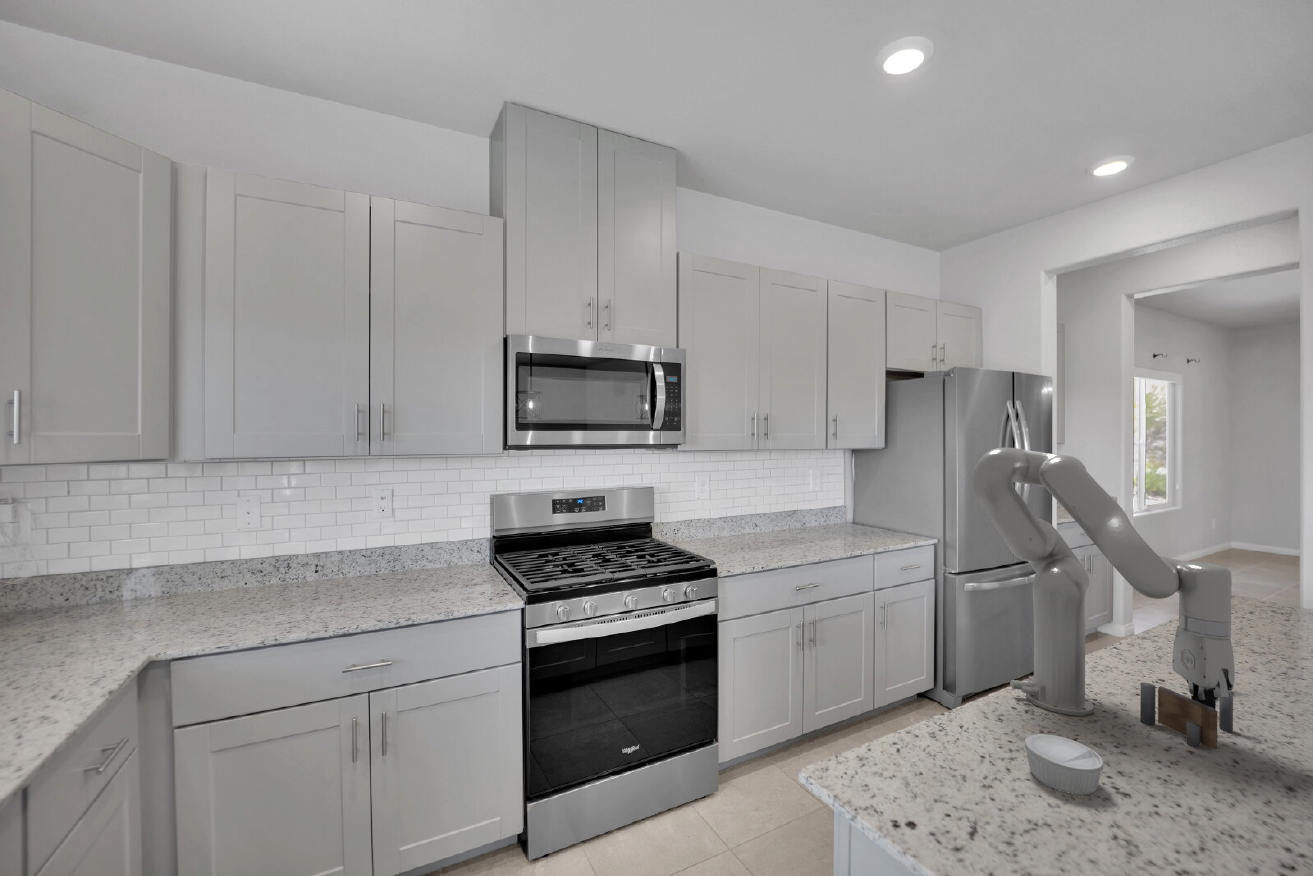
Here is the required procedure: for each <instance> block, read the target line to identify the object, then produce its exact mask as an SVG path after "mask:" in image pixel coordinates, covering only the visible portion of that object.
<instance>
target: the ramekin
mask: <svg viewBox="0 0 1313 876" xmlns="http://www.w3.org/2000/svg"><path fill="white" fill-rule="evenodd" d="M1024 748H1025V750H1026V754H1027V755H1026V756H1027V760H1028V767H1029V770H1030V772H1031V773H1032V774H1033V776H1034V777H1035V779H1037V780H1038V781H1040V783H1041V784H1043V783H1044V784H1043V785H1045V784H1046V785H1045V786H1047V785H1048V786H1047V787H1049V788H1051V787H1053V788H1054V789H1053V788H1052V789H1053V790H1056V789H1057V790H1056V791H1058V790H1060V791H1059V792H1061V791H1063V792H1062V793H1065V792H1069V793H1073V794H1072V795H1074V794H1088V795H1090V793H1091V794H1092V793H1094V792H1095V791H1096V790H1097V789H1098V785H1099V783H1100V779H1101V778H1100V777H1101V773H1102V771H1103V770H1104V760H1103V758H1102V757H1101V756H1100V754H1099V753H1098V752H1096V751H1094V750H1093V749H1092V748H1091V747H1089V746H1087V745H1085V744H1082V743H1080V742H1078V741H1076V740H1072V739H1071V738H1070V739H1069V738H1068V737H1067V738H1066V737H1064V736H1059V735H1054V734H1046V733H1045V734H1044V733H1037V734H1031V735H1029V736H1027V737H1026V738H1025V740H1024ZM1069 793H1068V794H1069Z"/></svg>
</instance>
